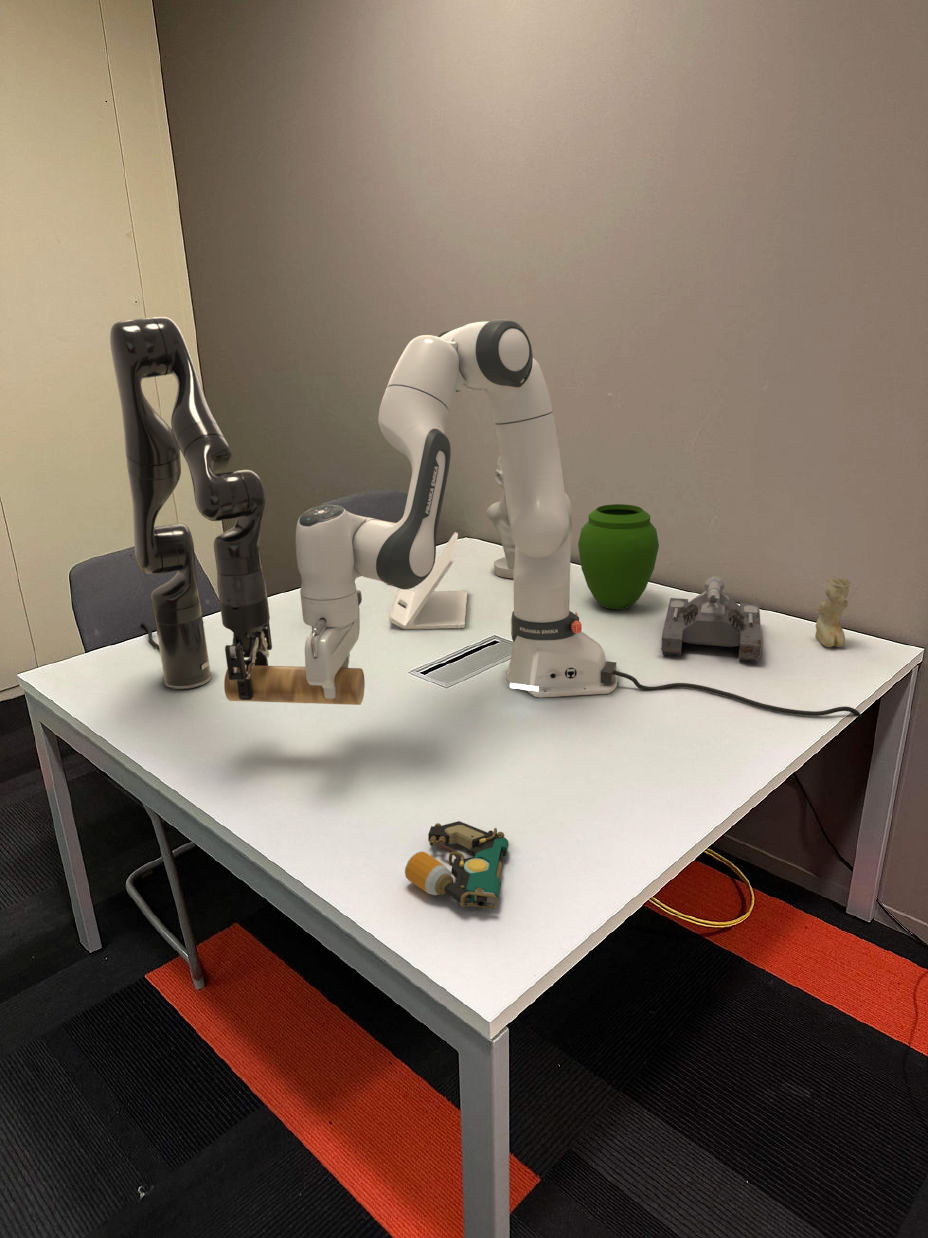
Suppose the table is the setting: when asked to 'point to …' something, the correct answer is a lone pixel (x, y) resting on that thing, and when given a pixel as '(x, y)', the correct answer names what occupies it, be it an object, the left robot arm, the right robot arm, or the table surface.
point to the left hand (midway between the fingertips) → (254, 688)
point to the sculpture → (832, 613)
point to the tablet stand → (432, 599)
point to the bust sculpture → (502, 529)
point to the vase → (618, 554)
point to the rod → (298, 686)
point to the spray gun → (461, 865)
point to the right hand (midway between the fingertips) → (337, 686)
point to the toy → (713, 622)
